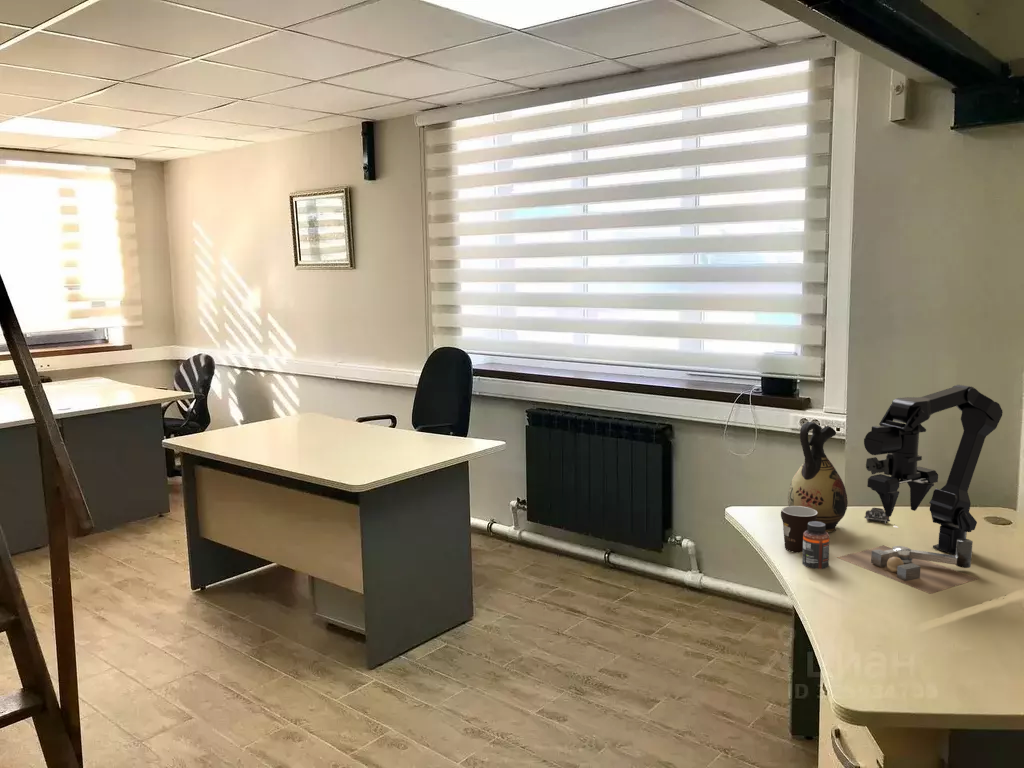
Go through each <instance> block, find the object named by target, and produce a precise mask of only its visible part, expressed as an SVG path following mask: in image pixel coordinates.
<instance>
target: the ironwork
mask: <svg viewBox="0 0 1024 768" xmlns="http://www.w3.org/2000/svg"><path fill="white" fill-rule="evenodd" d="M901 560H902V561H903V563H904V565H899V566H898V567H897V578H899V579H901V580H904V581H909V580H914V579H918V578H920V568H921V567H920V566H918V565H916V564H913V563H912V558H909V559H901Z"/></svg>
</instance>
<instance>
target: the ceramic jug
mask: <svg viewBox="0 0 1024 768" xmlns="http://www.w3.org/2000/svg"><path fill="white" fill-rule="evenodd" d="M799 431H800V432H799V441H800V445H801V447H802V451H803V452H802V453H803V456H804V461H803V463H802V464H801V465H800V467H799V468H798V470H797V471H796V472H795V474H794V476H793V477H792V480H791V481H790V484H789V488H788V491H787V492H788V493H787V505H788V506H802V507H808V508H811V509H814V510H816V511H817V512H818V513H817V519H816V521H817V522H822V523H824V524H825V525H826V526H825V528H826V529H825V532H827V533H828V534H829V533H833V532H836V531H837V528H836V526H837V525H838V524H839V523H840V521H841V520H842V519H843V518H844V516H845V515H846V512H847V510H848V494H847V491H846V486H845V484H844V482H843V479H842V478H841V476H840V474H839V473H838V471H837V469H836V468H835V466H834V465H833V463H832V462H831V460H829V458H828V456H827V455H826V453H825V450H824V445H825V443H826V442H827V441H828V440H830V439H831V438H833V437H836V434H837V432H836V430H835V429H834V428H833V427H831V426H830V425H826V426H824V427H823V428H822V426H821V425H819V424H817V423H815V422H812V421H809V422H808V421H807V422H805V423H803V424H802V425H801V427H800V430H799ZM811 431H812V432H811ZM809 432H811V433H812V434H811V436H810V438H809Z"/></svg>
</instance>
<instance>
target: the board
mask: <svg viewBox="0 0 1024 768" xmlns="http://www.w3.org/2000/svg"><path fill="white" fill-rule="evenodd" d="M892 548H893V547H889V546H888V545H887V546H886V545H880V546H875V547H872V548H867V549H865V550H860V551H856V552H852V553H848V554H845V555H840V556H837V557H836V558H837V559H840V560H842V561H845V562H847V563H849V564H852V565H854V566H857V567H860V568H863V569H866V570H867V571H870V572H874V573H876V574H878V575H881V576H883V577H886V578H889V579H890V580H893V581H896V582H898V583H901V584H904V585H907V586H909V587H911V588H915V589H918V590H920V591H922V592H925V593H927V594H929V595H930V594H935V593H938V592H942V591H943V590H947V589H951V588H954V587H957V586H960V585H963V584H966V583H970V582H973V581H977V580H979V578H978V577H976V576H972V575H970V574H967V573H963V572H961V571H958V570H955V569H952V568H949V567H946V566H944V565H941V564H939V563H937V562H933V561H926V560H919V559H912V563H913V564H916V565H918V566H920V567H921V568H920V578H918V579H914V580H909V581H904V580H901V579H899V578H897V573H895V572H892V571H890V570H889V569H888V567H887V566H883V567H879V566H877V565H875V564H873V563H871V554H872V551H873V550H879V549H880V550H882V551H885V550H891V549H892Z"/></svg>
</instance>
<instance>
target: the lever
mask: <svg viewBox="0 0 1024 768" xmlns="http://www.w3.org/2000/svg"><path fill="white" fill-rule="evenodd" d="M891 548H892V549H891V550H885V551H882V550H880V549H879V550H873V551H872V554H871V563H873V564H875V565H877V566H879V567H883V566H887V561H888V559H889V558H891V557H898V558H900V559H909V558H912V559H919V560H926V561H930V562H933V563H942V564H946V565H948V564H949V565H955V566H956V567H958V568H963V569H969V568H971V567H972V553H973V540H971V539H968V538H966V539H963V538H959V539H957V545H956V555H954V554H948V553H947V554H946V553H939V552H932V551H925V550H918V549H911V548H909V547H908V546H903V545H893V546H892V547H891Z"/></svg>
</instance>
